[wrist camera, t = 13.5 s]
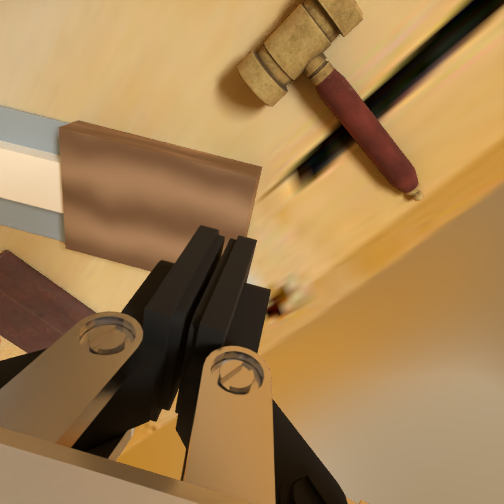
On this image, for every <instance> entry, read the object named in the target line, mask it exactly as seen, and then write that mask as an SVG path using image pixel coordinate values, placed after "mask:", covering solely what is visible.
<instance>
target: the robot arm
mask: <svg viewBox="0 0 504 504" xmlns="http://www.w3.org/2000/svg"><path fill="white" fill-rule="evenodd" d="M224 241H225V236H221V235H219V230H218V229H214V228H211V227H207V226H203V225H200V226H199V228H198V229H197V231H196V232H195V234H194V235H193V237H192V238H191V240H190V241H189V243H188V244H187V246H186V247H185V249H184V250H183V252H182V253H181V255H180V256H179V258H178V259H177V261H176V262H175V263H172V262H168V261H165V260H160V261H159V262H158V263H157V265H156V266H155V267H154V269H153V270H152V271H151V273H150V274H149V275H148V277H147V278H146V280H145V281H144V282H143V284H142V285H141V286H140V288H139V289H138V290H137V292H136V293H135V294H134V296H133V297H132V298H131V300H130V301H129V302H128V304H127V305H126V306H125V308H124V309H123V310H122V312H121V313H119V312H101V313H96V314H93V315H90V316H87V317H86V318H84V319H82V320H81V321H79V322H78V323H77V324H76V325H74V326H73V327H72V328H71V329H70V330H69V331H68V332H66V333H65V334H64V335H63V336H62V337H61V338H59V339H58V340H57V341H56V342H55V343H54V344H52V345H51V346H50V347H49V348H46V349H42V350H39V351H35V352H31V353H28V354H24V355H20V356H17V357H13V358H9V359H6V360H2V361H0V504H357V503H355V502H353V501H352V500H350V499H348V498H346V496H345V494H344V492H343V491H342V489H341V487H340V486H339V484H338V483H337V481H336V480H335V479H334V478H333V476H332V475H331V474H330V472H329V471H328V470H327V468H326V467H325V466H324V465H323V463H322V462H321V461H320V459H319V458H318V457H317V456H316V454H315V453H314V452H313V450H312V449H311V448H310V447H309V445H308V444H307V443H306V441H305V440H304V439H303V438H302V436H301V435H300V434H299V433H298V432H297V430H296V429H295V427H294V426H293V425H292V423H291V422H290V421H289V420H288V418H287V417H286V416H285V415H284V413H283V412H282V411H281V409H280V408H279V407H278V405H277V404H276V403H275V401H274V400H273V399H272V377H271V372H270V368H269V367H268V365H267V363H266V362H265V360H264V359H263V358H262V357H260V356H259V355H258V354H257V352H258V348H259V343H260V338H261V334H262V329H263V324H264V320H265V315H266V310H267V306H268V301H269V296H270V291H271V290H270V289H266V288H263V287H259V286H255V285H252V284H248V283H246V282H247V278H248V274H249V270H250V266H251V262H252V258H253V254H254V250H255V246H256V242H257V240H255V239H251V238H247V237H244V236H240V235H239V236H238V238H237V240H236V239H232V238H230V240H229V242H228V244H227V246H226V248H225V250H224V252H223V254H222V251H223V246H224ZM178 389H179V392H178V398H177V404H176V410H175V413H178V419H177V425H176V431H177V432H178V434H179V436H180V438H181V440H182V442H183V444H184V446H185V447H186V451H185V456H184V462H183V468H182V473H181V479H180V480H176V479H173V478H170V477H166V476H163V475H160V474H156V473H153V472H150V471H146V470H143V469H139V468H136V467H132V466H129V465H126V464H123V463H120V462H116V460H117V458H118V457H119V456H120V454H121V453H122V451H123V450H124V448H125V447H126V445H127V444H128V442H129V441H130V439H131V437H132V435H133V433H134V430H135V427H137V426H139V425H142V424H144V423H146V422H149V421H150V420H152V421H155V422H156V421H157V419H158V417H159V415H160V412H161V410H162V409H165V410H168V411H169V410H170V408H171V406H172V403H173V401H174V399H175V396H176V394H177V391H178ZM358 504H368V503H367V502H365V501H363V500H361V501H360V502H359V503H358Z"/></svg>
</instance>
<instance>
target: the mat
mask: <svg viewBox="0 0 504 504" xmlns="http://www.w3.org/2000/svg"><path fill="white" fill-rule="evenodd" d="M67 124H70V123H67V122H64V121H60V120H56V119H52V118H48V117H44V116H40V115H36V114H32V113H28V112H24V111H20V110H16V109H12V108H8V107H4V106H1V105H0V141H5V142H9V143H13V144H17V145H21V146H25V147H29V148H33V149H37V150H41V151H45V152H49V153H53V154H57V155H60V141H59V127H61V126H64V125H67ZM0 225H3V226H7V227H11V228H15V229H18V230H22V231H26V232H30V233H33V234H37V235H41V236H44V237H48V238H52V239H56V240H59V241H63V242H65V227H64V213H60V212H56V211H52V210H48V209H44V208H40V207H36V206H32V205H28V204H24V203H20V202H16V201H13V200H9V199H5V198H1V197H0Z"/></svg>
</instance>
